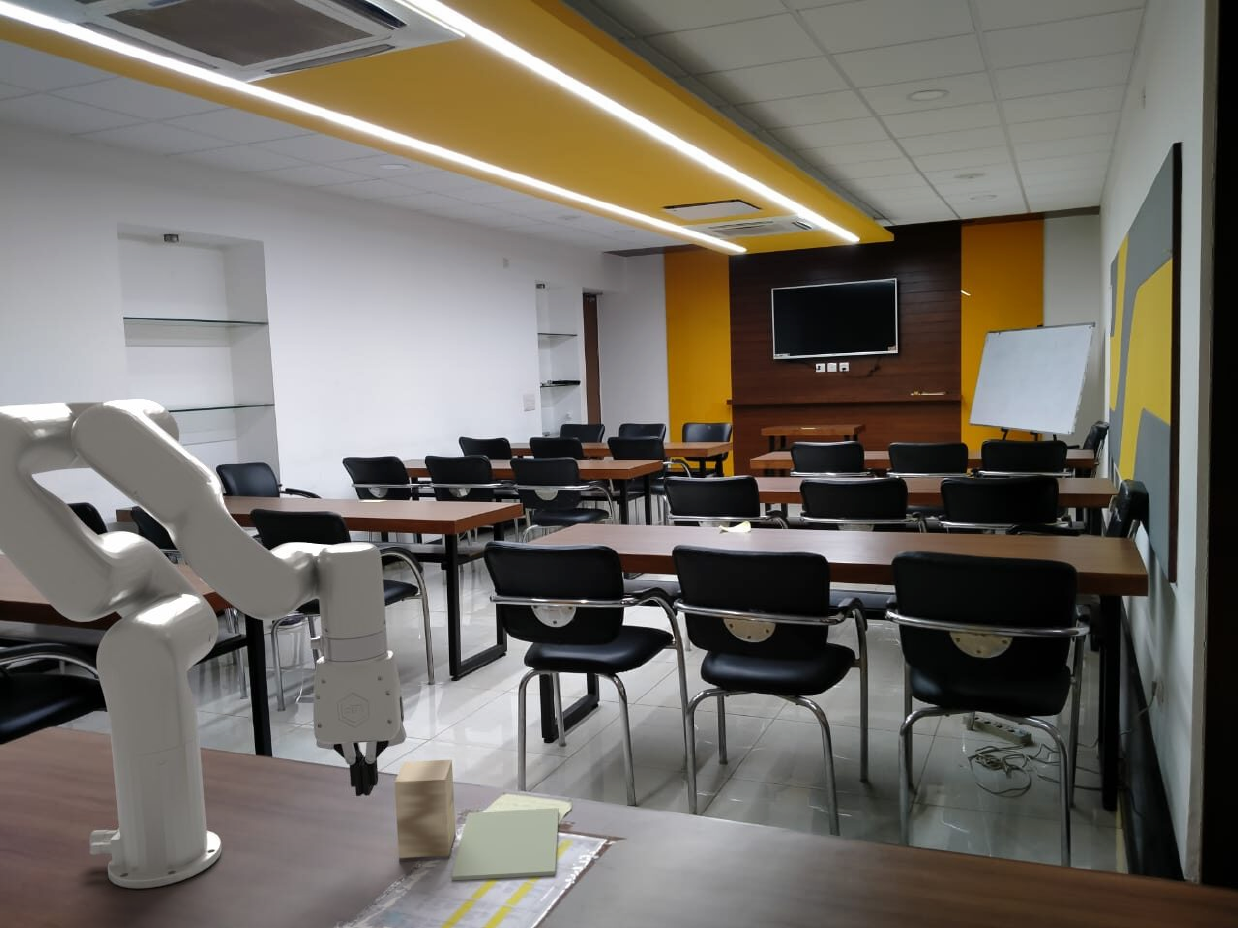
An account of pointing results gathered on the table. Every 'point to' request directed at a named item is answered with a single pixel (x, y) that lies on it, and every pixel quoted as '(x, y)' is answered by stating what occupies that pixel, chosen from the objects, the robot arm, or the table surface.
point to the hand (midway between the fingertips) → (365, 790)
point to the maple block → (425, 810)
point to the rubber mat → (508, 844)
